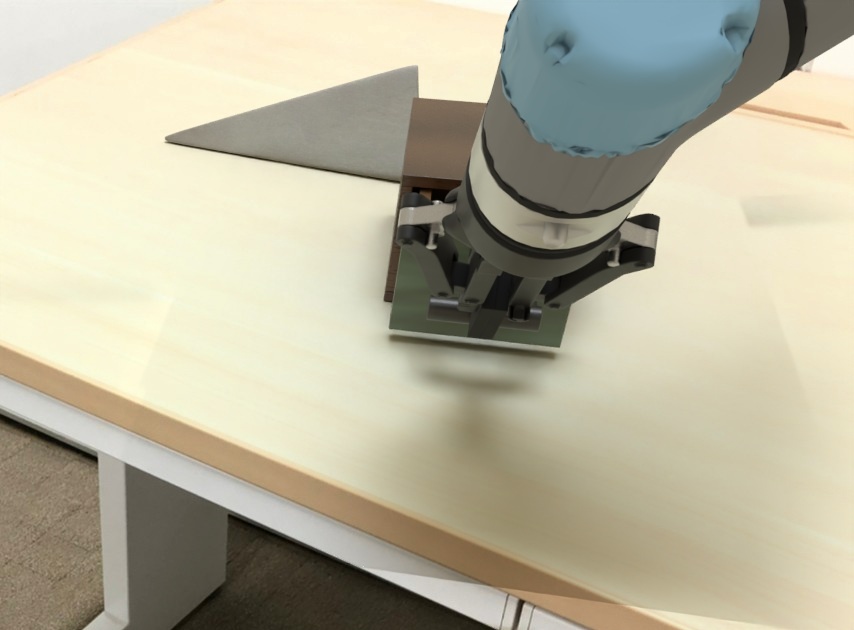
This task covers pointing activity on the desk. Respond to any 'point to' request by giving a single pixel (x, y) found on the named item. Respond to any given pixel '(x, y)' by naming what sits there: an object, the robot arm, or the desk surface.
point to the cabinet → (434, 156)
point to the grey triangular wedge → (324, 127)
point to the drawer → (442, 317)
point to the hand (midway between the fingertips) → (482, 317)
